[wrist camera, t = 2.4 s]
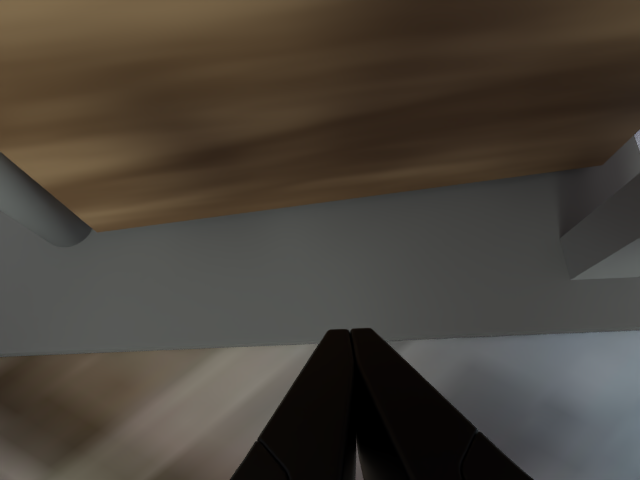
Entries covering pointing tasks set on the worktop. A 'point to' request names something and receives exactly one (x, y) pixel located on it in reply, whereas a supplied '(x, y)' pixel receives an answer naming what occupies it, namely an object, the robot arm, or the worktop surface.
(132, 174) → the gate leaf
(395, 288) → the grey base plate
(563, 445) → the worktop surface
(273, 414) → the robot arm
